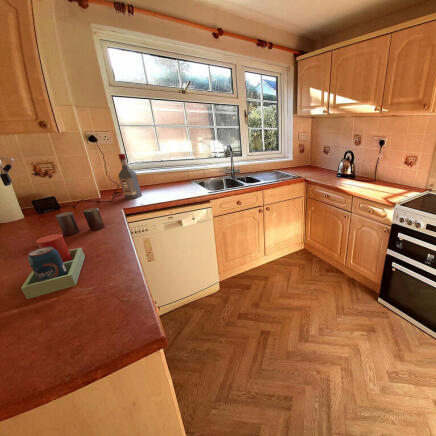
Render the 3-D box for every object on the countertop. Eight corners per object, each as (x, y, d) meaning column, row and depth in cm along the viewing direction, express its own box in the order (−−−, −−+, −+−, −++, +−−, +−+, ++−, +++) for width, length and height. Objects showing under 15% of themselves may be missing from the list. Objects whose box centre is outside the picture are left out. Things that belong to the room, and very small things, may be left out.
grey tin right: (89, 231, 119) (82, 212, 115) (90, 227, 124) (83, 209, 120) (104, 228, 122) (97, 210, 118) (105, 224, 127) (98, 206, 123)
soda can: (39, 292, 75) (21, 258, 71) (44, 281, 81) (28, 249, 76) (67, 284, 79) (53, 251, 74) (71, 273, 84) (57, 243, 80)
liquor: (131, 195, 178) (119, 153, 167) (143, 195, 178) (132, 153, 167) (123, 199, 170) (109, 155, 159) (135, 198, 169) (123, 154, 158)
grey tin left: (62, 237, 114) (54, 217, 110) (65, 232, 119) (57, 213, 115) (78, 233, 117) (71, 214, 113) (80, 229, 122) (73, 211, 118)
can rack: (27, 300, 73) (20, 288, 71) (46, 266, 90) (41, 256, 88) (76, 286, 78) (71, 274, 77) (85, 257, 96) (81, 247, 94)
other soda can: (48, 275, 84) (33, 244, 79) (53, 266, 89) (39, 237, 85) (73, 269, 87) (60, 239, 83) (76, 260, 92) (64, 232, 88)
